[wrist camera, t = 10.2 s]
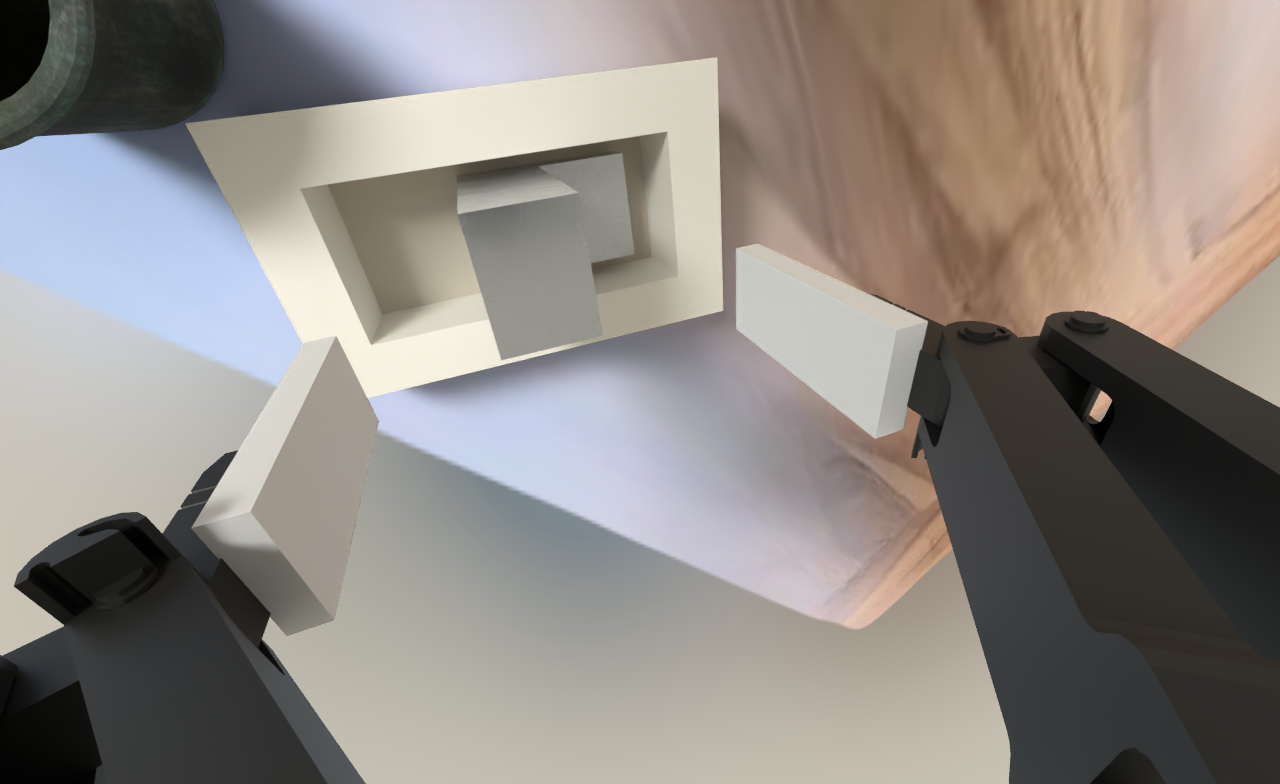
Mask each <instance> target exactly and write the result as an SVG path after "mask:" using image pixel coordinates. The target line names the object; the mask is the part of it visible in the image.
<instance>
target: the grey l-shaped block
mask: <svg viewBox="0 0 1280 784" xmlns="http://www.w3.org/2000/svg"><path fill="white" fill-rule="evenodd" d="M457 214H458V218H459V221H460V224H461V228H462V231H463V234H464V237H465V241H466V244H467V247H468V251H469V254H470V257H471V261H472V264H473V267H474V271H475V274H476V277H477V281H478V284H479V287H480V291H481V294H482V297H483V301H484V304H485V307H486V311H487V314H488V317H489V321H490V324H491V327H492V331H493V334H494V337H495V341H496V344H497V347H498V351H499V354H500V357H501V360H506V359H510V358H514V357H518V356H522V355H526V354H530V353H534V352H538V351H543V350H547V349H551V348H555V347H559V346H563V345H567V344H571V343H575V342H580V341H584V340H588V339H592V338H596V337H600V336H603V332H602V326H601V320H600V314H599V309H598V303H597V297H596V291H595V285H594V279H593V273H592V267H591V263H595V262H600V261H604V260H609V259H614V258H619V257H623V256H628V255H633V254H634V246H633V238H632V230H631V221H630V213H629V205H628V196H627V188H626V180H625V171H624V163H623V154H622V153H621V152H617V151H608V152H602V153H596V154H590V155H583V156H577V157H571V158H565V159H558V160H552V161H546V162H540V163H533V164H527V165H521V166H515V167H509V168H502V169H496V170H490V171H484V172H477V173H471V174H465V175H459V176H457Z"/></svg>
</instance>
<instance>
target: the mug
mask: <svg viewBox="0 0 1280 784" xmlns="http://www.w3.org/2000/svg"><path fill="white" fill-rule="evenodd" d="M223 62H224V40H223V34H222V28H221V22H220V19H219V16H218V13H217V10H216V7H215V4H214V0H0V150H2V149H6V148H10V147H13V146H17V145H19V144H21V143H23V142H25V141H27V140H29V139H31V138H33V137H35V136H50V135H68V134H86V133H105V132H123V131H141V130H150V129H159V128H163V127H166V126H170V125H173V124H177V123H179V122H181V121H183V120H185V119H187V118H189V117H191V116H192V115H194V114H195V113H196V112H197V111H198V110H200V109H201V108H202V107H203V106H204V105H205V104H206V103H207V101H208V100H209V99H210V97H211V96H212V95H213V93H214V91H215V89H216V87H217V85H218V82H219V80H220V77H221V72H222V67H223Z"/></svg>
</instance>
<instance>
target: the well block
mask: <svg viewBox="0 0 1280 784" xmlns="http://www.w3.org/2000/svg"><path fill="white" fill-rule="evenodd" d="M185 124H186V126H187V128H188V130H189V132H190V134H191V136H192V137H193V139H194V141H195V143H196V145H197V147H198V149H199V150H200V152H201V154H202V156H203V158H204V160H205V162H206V164H207V165H208V167H209V169H210V171H211V173H212V175H213V177H214V178H215V180H216V182H217V184H218V186H219V188H220V190H221V192H222V193H223V195H224V197H225V199H226V201H227V203H228V205H229V207H230V208H231V210H232V212H233V214H234V216H235V218H236V220H237V221H238V223H239V225H240V227H241V229H242V231H243V233H244V235H245V236H246V238H247V240H248V242H249V244H250V246H251V248H252V249H253V251H254V253H255V255H256V257H257V259H258V261H259V263H260V264H261V266H262V268H263V270H264V272H265V274H266V276H267V277H268V279H269V281H270V283H271V285H272V287H273V289H274V291H275V292H276V294H277V296H278V298H279V300H280V302H281V304H282V305H283V307H284V309H285V311H286V313H287V315H288V317H289V319H290V320H291V322H292V324H293V326H294V328H295V330H296V332H297V333H298V335H299V337H300V339H301V341H302V343H305V342H309V341H314V340H318V339H323V338H328V337H332V336H337V338H338V340H339V342H340V344H341V346H342V348H343V350H344V352H345V354H346V356H347V358H348V360H349V362H350V364H351V366H352V368H353V370H354V372H355V374H356V376H357V378H358V380H359V382H360V384H361V386H362V388H363V390H364V392H365V394H366V396H367V398H370V397H374V396H378V395H382V394H386V393H390V392H394V391H398V390H403V389H407V388H411V387H415V386H419V385H423V384H427V383H431V382H435V381H439V380H443V379H447V378H451V377H455V376H460V375H464V374H468V373H472V372H476V371H480V370H484V369H488V368H492V367H496V366H500V365H504V364H508V363H513V362H517V361H521V360H525V359H529V358H533V357H537V356H541V355H545V354H549V353H553V352H557V351H561V350H565V349H570V348H574V347H578V346H582V345H586V344H590V343H594V342H598V341H602V340H606V339H610V338H614V337H618V336H623V335H627V334H631V333H635V332H639V331H643V330H647V329H651V328H655V327H659V326H663V325H667V324H671V323H676V322H680V321H684V320H688V319H692V318H696V317H700V316H704V315H708V314H712V313H716V312H720V311H723V275H722V234H721V192H720V150H719V109H718V67H717V57H716V58H708V59H700V60H692V61H684V62H675V63H667V64H659V65H651V66H643V67H635V68H627V69H619V70H611V71H603V72H595V73H587V74H579V75H571V76H563V77H555V78H547V79H538V80H530V81H522V82H514V83H506V84H498V85H490V86H482V87H474V88H466V89H458V90H450V91H442V92H434V93H426V94H418V95H410V96H401V97H393V98H385V99H377V100H369V101H361V102H353V103H345V104H337V105H329V106H321V107H313V108H305V109H297V110H289V111H281V112H273V113H265V114H256V115H248V116H240V117H232V118H224V119H216V120H208V121H200V122H192V123H185ZM608 151H617V152H621V153H622V154H623V163H624V171H625V180H626V188H627V196H628V205H629V213H630V221H631V230H632V238H633V246H634V254H633V255H628V256H623V257H619V258H614V259H609V260H604V261H600V262H595V263H591V267H592V273H593V279H594V285H595V291H596V297H597V303H598V309H599V314H600V320H601V326H602V332H603V336H600V337H596V338H592V339H588V340H584V341H580V342H575V343H571V344H567V345H563V346H559V347H555V348H551V349H547V350H543V351H538V352H534V353H530V354H526V355H522V356H518V357H514V358H510V359H506V360H501V357H500V354H499V351H498V347H497V344H496V341H495V337H494V334H493V331H492V327H491V324H490V321H489V317H488V314H487V311H486V307H485V304H484V301H483V297H482V294H481V291H480V287H479V284H478V281H477V277H476V274H475V271H474V267H473V264H472V261H471V257H470V254H469V251H468V247H467V244H466V241H465V237H464V234H463V231H462V228H461V224H460V221H459V218H458V214H457V176H459V175H465V174H471V173H477V172H484V171H490V170H496V169H502V168H509V167H515V166H521V165H527V164H533V163H540V162H546V161H552V160H558V159H565V158H571V157H577V156H583V155H590V154H596V153H602V152H608Z"/></svg>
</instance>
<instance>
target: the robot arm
mask: <svg viewBox="0 0 1280 784" xmlns="http://www.w3.org/2000/svg"><path fill="white" fill-rule="evenodd" d="M736 329H737V330H738V331H739V332H741V333H742V334H743V335H744V336H746V337H747V338H748V339H750V340H751V341H752V342H753V343H755V344H756V345H757V346H758V347H760V348H761V349H762V350H763V351H765V352H766V353H767V354H769V355H770V356H771V357H772V358H774V359H775V360H776V361H777V362H779V363H780V364H781V365H782V366H784V367H785V368H786V369H787V370H789V371H790V372H791V373H793V374H794V375H795V376H796V377H798V378H799V379H800V380H801V381H803V382H804V383H805V384H806V385H808V386H809V387H810V388H811V389H813V390H814V391H815V392H817V393H818V394H819V395H820V396H822V397H823V398H824V399H825V400H827V401H828V402H829V403H830V404H832V405H833V406H834V407H835V408H837V409H838V410H839V411H841V412H842V413H843V414H844V415H846V416H847V417H848V418H849V419H851V420H852V421H853V422H854V423H856V424H857V425H858V426H859V427H861V428H862V429H863V430H865V431H866V432H867V433H868V434H870V435H871V436H872V437H873V438H875V439H877V438H880V437H883V436H885V435H888V434H891V433H894V432H897V431H900V430H903V427H904V423H905V418H906V414H907V410H908V407H909V408H911V409H912V410H914V411H915V412H917V413H918V414H920V415H921V417H920V421H919V425H918V429H917V433H916V437H915V441H914V445H913V449H912V456H911V458H917V455H918V451H920V450H921V449H922V448H923V450H924V453H925V459H926V460H927V464H928V467H929V470H930V474H931V477H932V480H933V484H934V487H935V490H936V494H937V497H938V500H939V504H940V507H941V510H942V514H943V517H944V521H945V524H946V527H947V531H948V534H949V537H950V541H951V544H952V547H953V551H954V554H955V557H956V561H957V564H958V568H959V571H960V574H961V578H962V581H963V584H964V587H965V591H966V594H967V597H968V601H969V604H970V608H971V611H972V615H973V618H974V621H975V625H976V628H977V631H978V635H979V638H980V641H981V645H982V648H983V651H984V655H985V658H986V661H987V665H988V668H989V672H990V675H991V678H992V681H993V685H994V688H995V692H996V695H997V698H998V702H999V705H1000V709H1001V712H1002V715H1003V718H1004V722H1005V725H1006V729H1007V732H1008V737H1009V741H1010V752H1011V757H1010V758H1011V759H1010V772H1009V784H1280V408H1279V407H1277V406H1276V405H1273V404H1272V403H1270V402H1268V401H1266V400H1264V399H1262V398H1261V397H1259V396H1257V395H1255V394H1253V393H1251V392H1249V391H1248V390H1246V389H1244V388H1242V387H1240V386H1238V385H1236V384H1235V383H1233V382H1231V381H1229V380H1227V379H1225V378H1223V377H1222V376H1220V375H1218V374H1216V373H1214V372H1212V371H1210V370H1208V369H1206V368H1205V367H1203V366H1201V365H1199V364H1197V363H1196V362H1194V361H1192V360H1190V359H1188V358H1186V357H1184V356H1182V355H1181V354H1179V353H1177V352H1175V351H1173V350H1171V349H1169V348H1168V347H1166V346H1164V345H1162V344H1160V343H1158V342H1156V341H1155V340H1153V339H1151V338H1149V337H1147V336H1145V335H1143V334H1142V333H1140V332H1138V331H1136V330H1134V329H1132V328H1130V327H1129V326H1127V325H1125V324H1123V323H1121V322H1119V321H1116V320H1114V319H1111V318H1109V317H1105V316H1101V315H1099V314H1097V313H1094V312H1088V311H1087V312H1085V311H1074V312H1060V313H1054V314H1051V315H1050V316H1048V317H1047V318H1046V320H1045V323H1044V326H1043V328H1042V331H1041V333H1040V336H1032V337H1019V338H1018V337H1017V336H1016V335H1015V334H1014V333H1012V332H1011V331H1010V330H1008V329H1006V328H1005V327H1001V326H999V325H995V324H990V323H986V322H977V321H961V322H955V323H951V324H948V325H947V326H943V325H941V324H939V323H937V322H934V321H932V320H930V319H928V318H926V317H923V316H921V315H919V314H917V313H915V312H912V311H910V310H905V308H904V307H901V306H899V305H897V304H893V303H892V302H890V301H888V300H886V299H884V298H881V297H879V296H877V295H873V294H868V293H865V292H863V291H861V290H859V289H857V288H854V287H852V286H850V285H848V284H846V283H843V282H841V281H839V280H837V279H835V278H833V277H830V276H828V275H826V274H824V273H822V272H819V271H817V270H815V269H813V268H811V267H808V266H806V265H804V264H802V263H800V262H798V261H795V260H793V259H791V258H789V257H787V256H784V255H782V254H780V253H778V252H776V251H774V250H771V249H769V248H767V247H765V246H763V245H760V244H758V243H757V244H753V245H748V246H744V247H739V248H736ZM1101 390H1102V391H1103V392H1105V393H1106V394H1107V395H1108V396H1109V397H1110V398H1111V399H1112V403H1111V405H1110V407H1109V409H1108V411H1107V413H1106V415H1105V416H1104V418H1103V419H1102V421H1101V422H1098V421H1096V420H1095V419H1094V418H1092V417H1091V416H1090V415H1089V414H1090V412H1091V410H1092V408H1093V406H1094V404H1095V402H1096V400H1097V397H1098V395H1099V393H1100V391H1101ZM378 422H379V421H378V419H377V417H376V414H375V412H374V410H373V408H372V406H371V404H370V402H369V400H368V398H367V396H366V394H365V392H364V390H363V388H362V386H361V384H360V382H359V380H358V378H357V376H356V374H355V372H354V370H353V368H352V366H351V364H350V362H349V360H348V358H347V356H346V354H345V352H344V350H343V348H342V346H341V344H340V342H339V340H338V338H337V336H332V337H328V338H323V339H318V340H314V341H309V342H305V343H303V345H302V347H301V348H300V350H299V352H298V353H297V355H296V357H295V358H294V360H293V362H292V363H291V365H290V367H289V368H288V370H287V371H286V373H285V375H284V376H283V378H282V380H281V381H280V383H279V385H278V386H277V388H276V390H275V391H274V393H273V395H272V396H271V398H270V399H269V401H268V403H267V404H266V406H265V408H264V409H263V411H262V413H261V414H260V416H259V417H258V419H257V421H256V422H255V424H254V426H253V428H252V429H251V431H250V432H249V434H248V436H247V437H246V439H245V441H244V442H243V444H242V445H241V447H240V449H239V450H238V451H234V452H230V453H226V454H224V455H223V456H222V457H221V458H220V459H218V460H217V461H216V462H215V463H214V464H213V465H212V466H210V467H209V468H208V469H207V470H206V471H204V472H203V474H202V475H201V477H200V478H199V480H198V481H197V483H196V484H195V486H194V487H193V489H192V490H191V492H192V494H189V495H188V496H187V498H186V499H185V501H184V502H183V504H182V505H181V508H182V509H181V510H178V511H177V513H176V514H175V516H174V517H173V519H172V520H171V522H170V523H169V525H168V526H167V528H166V529H165V531H164V532H163V534H162V533H161V532H160V531H159V530H158V529H157V528H156V527H155V526H154V525H153V524H152V523H151V521H150V520H149V519H148V518H147V517H146V516H144V515H142V514H140V513H138V512H130V513H120V514H116V515H112V516H109V517H105V518H101V519H99V520H97V521H94V522H92V523H89V524H87V525H85V526H83V527H80V528H78V529H76V530H74V531H72V532H70V533H69V534H67V535H65V536H63V537H62V538H60V539H58V540H57V541H55V542H53V543H52V544H50V545H49V546H48V547H46V548H45V549H44V550H43V551H41V552H40V553H38V554H37V555H36V556H34V557H33V558H32V559H31V560H30V561H29V562H28V563H27V564H26V565H25V566H24V568H23V569H22V570H21V571H20V572H19V573H18V575H17V578H16V581H15V584H14V587H15V588H17V589H18V590H19V591H21V592H22V593H23V594H24V595H26V596H27V597H28V598H30V599H31V600H32V601H34V602H35V603H36V604H37V605H39V606H40V607H42V608H43V609H44V610H45V611H47V612H48V613H49V614H51V615H52V616H53V617H54V618H56V619H57V620H58V621H60V622H61V623H62V624H64V627H62V628H60V629H58V630H56V631H53V632H51V633H49V634H47V635H45V636H43V637H41V638H39V639H37V640H35V641H33V642H31V643H28V644H26V645H24V646H22V647H20V648H18V649H16V650H14V651H12V652H9V653H7V654H5V655H3V656H1V655H0V784H365V782H364V781H363V779H362V778H361V776H360V775H359V774H358V772H357V771H356V769H355V768H354V766H353V765H352V764H351V762H350V761H349V759H348V758H347V756H346V755H345V753H344V752H343V751H342V749H341V748H340V746H339V745H338V743H337V742H336V741H335V739H334V738H333V736H332V735H331V733H330V732H329V731H328V729H327V728H326V727H325V725H324V723H323V722H322V721H321V719H320V718H319V716H318V715H317V713H316V712H315V710H314V709H313V708H312V706H311V705H310V703H309V702H308V700H307V699H306V698H305V696H304V695H303V693H302V692H301V691H300V689H299V688H298V686H297V685H296V683H295V682H294V681H293V679H292V677H291V676H290V675H289V673H288V672H287V670H286V669H285V667H284V666H283V665H282V663H281V662H280V660H279V659H278V657H277V656H276V655H275V653H274V652H273V650H272V649H271V648H270V647H269V646H268V645H267V644H266V643H265V642H264V641H263V640H262V637H263V633H264V631H265V628H266V625H267V622H268V620H269V617H271V619H272V620H273V621H274V622H275V623H276V624H277V625H278V626H279V628H280V629H282V631H283V632H284V633H285V634H286V635H287V636H288V635H291V634H294V633H297V632H300V631H303V630H306V629H309V628H312V627H315V626H318V625H321V624H324V623H327V622H330V621H333V620H334V619H335V613H336V610H337V605H338V601H339V596H340V592H341V587H342V583H343V578H344V574H345V570H346V565H347V560H348V556H349V552H350V547H351V543H352V538H353V534H354V529H355V525H356V520H357V516H358V511H359V507H360V503H361V498H362V494H363V489H364V485H365V480H366V476H367V471H368V467H369V462H370V458H371V453H372V449H373V444H374V439H375V436H376V431H377V427H378Z"/></svg>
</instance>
